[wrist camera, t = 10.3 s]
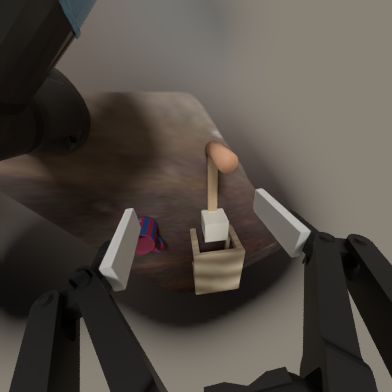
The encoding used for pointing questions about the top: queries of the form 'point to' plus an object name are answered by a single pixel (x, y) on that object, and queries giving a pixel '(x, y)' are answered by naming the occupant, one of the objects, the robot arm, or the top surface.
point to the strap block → (215, 218)
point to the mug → (148, 236)
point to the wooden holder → (217, 265)
